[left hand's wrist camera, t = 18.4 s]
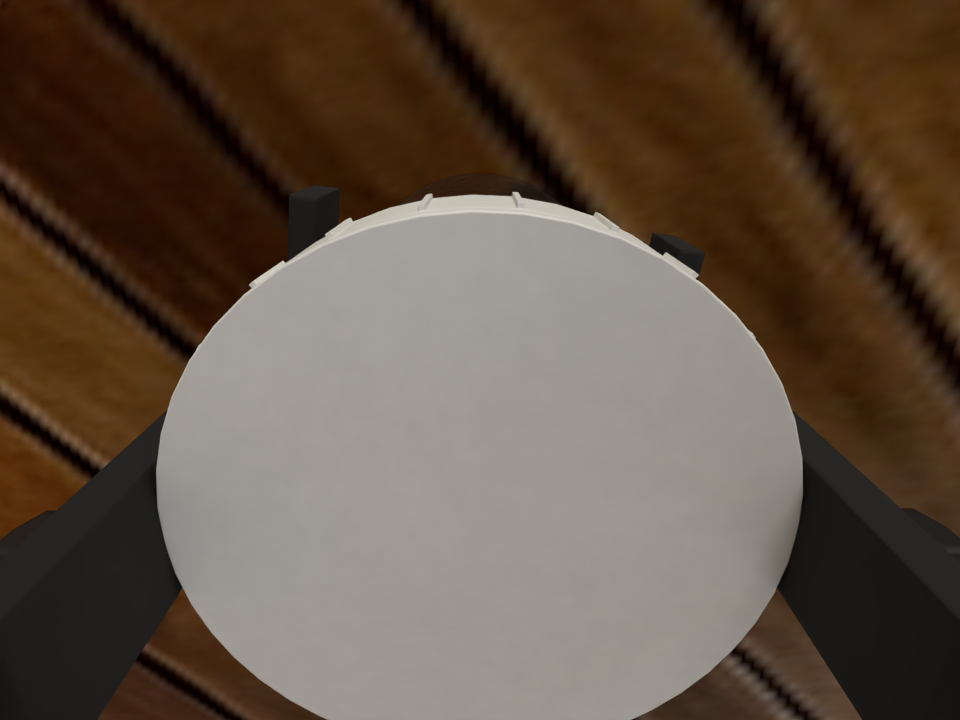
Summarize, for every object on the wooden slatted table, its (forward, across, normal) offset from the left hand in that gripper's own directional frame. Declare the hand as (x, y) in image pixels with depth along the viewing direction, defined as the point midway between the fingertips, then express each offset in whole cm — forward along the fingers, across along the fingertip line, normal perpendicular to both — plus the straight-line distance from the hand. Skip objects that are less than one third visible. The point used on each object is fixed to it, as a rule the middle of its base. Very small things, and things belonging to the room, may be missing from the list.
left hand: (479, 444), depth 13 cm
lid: (-3, 0, 0) cm, 3 cm away
